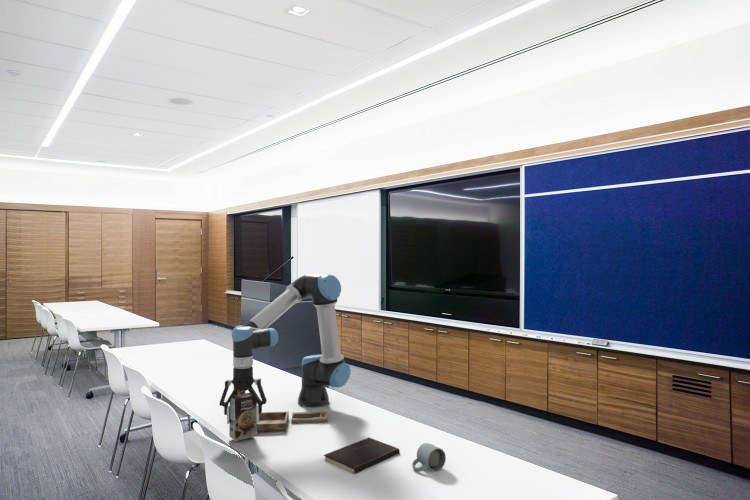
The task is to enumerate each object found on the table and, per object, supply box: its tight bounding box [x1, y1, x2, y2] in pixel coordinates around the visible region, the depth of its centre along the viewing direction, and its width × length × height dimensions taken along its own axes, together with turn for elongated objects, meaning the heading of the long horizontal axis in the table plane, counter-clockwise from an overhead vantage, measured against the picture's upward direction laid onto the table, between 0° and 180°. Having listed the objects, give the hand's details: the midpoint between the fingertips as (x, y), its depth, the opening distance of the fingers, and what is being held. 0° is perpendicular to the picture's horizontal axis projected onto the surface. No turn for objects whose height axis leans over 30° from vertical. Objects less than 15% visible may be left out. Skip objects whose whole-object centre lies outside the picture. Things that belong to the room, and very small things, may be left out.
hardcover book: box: [323, 437, 401, 475], centre depth 173 cm, size 16×23×2 cm
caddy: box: [257, 411, 290, 434], centre depth 204 cm, size 15×15×4 cm
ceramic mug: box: [411, 442, 447, 473], centre depth 164 cm, size 11×8×8 cm
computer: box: [290, 410, 329, 425], centre depth 212 cm, size 16×8×3 cm, turn 96°
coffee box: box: [228, 392, 258, 442], centre depth 190 cm, size 9×6×16 cm
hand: (243, 422), depth 190 cm, fingers closed on coffee box, 11 cm apart
